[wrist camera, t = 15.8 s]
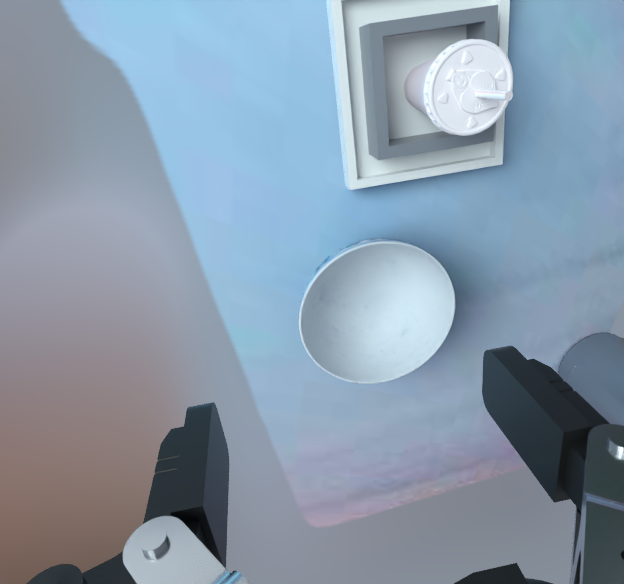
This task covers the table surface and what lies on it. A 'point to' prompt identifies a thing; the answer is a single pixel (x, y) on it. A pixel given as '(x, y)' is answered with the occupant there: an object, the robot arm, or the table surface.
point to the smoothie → (462, 87)
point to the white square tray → (390, 86)
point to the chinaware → (376, 310)
